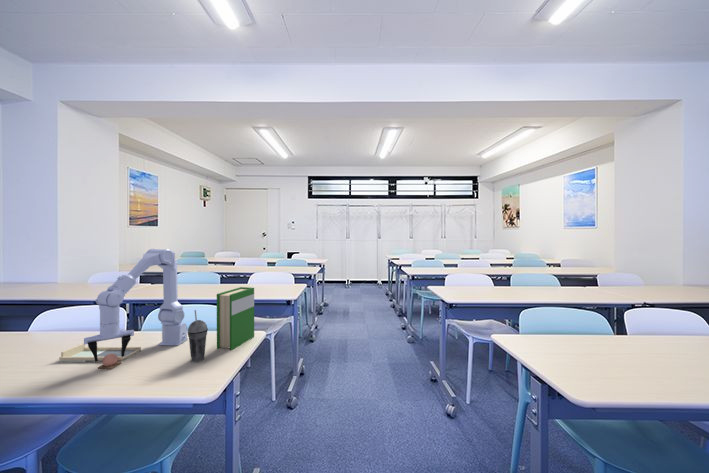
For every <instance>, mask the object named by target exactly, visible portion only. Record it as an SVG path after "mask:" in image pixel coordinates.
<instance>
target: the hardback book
mask: <svg viewBox="0 0 709 473" xmlns="http://www.w3.org/2000/svg"><path fill="white" fill-rule="evenodd" d="M253 338H255V287H243V286H239V287H236V288H233V289H229V290H226V291H223V292H218V293H216V350H219V348H220V349H222V348H226V349H229V351H233V350H235V349H236V348H238V347H240V346H242V345H243V344H245V343H247V342H249V340H251V339H253Z"/></svg>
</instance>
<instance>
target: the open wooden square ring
mask: <svg viewBox="0 0 709 473" xmlns="http://www.w3.org/2000/svg"><path fill="white" fill-rule="evenodd" d="M122 363H123V361H121V362H116V363H115V364H114V365H112V366H104V365H103V364H101V365H99V366H97V370H113V369H115V368H116V367H118V366H120V365H122Z"/></svg>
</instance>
